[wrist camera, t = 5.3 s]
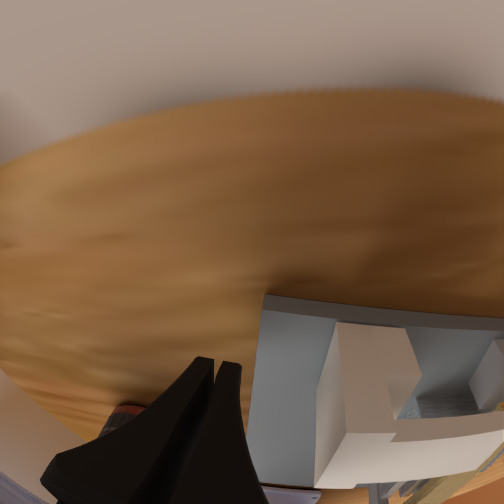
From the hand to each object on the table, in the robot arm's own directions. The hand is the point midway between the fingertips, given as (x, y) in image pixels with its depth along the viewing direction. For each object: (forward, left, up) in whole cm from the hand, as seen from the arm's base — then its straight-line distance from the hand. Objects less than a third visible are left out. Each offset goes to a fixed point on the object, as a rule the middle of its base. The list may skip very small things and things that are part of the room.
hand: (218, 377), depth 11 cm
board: (-6, -12, -3) cm, 14 cm away
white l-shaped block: (0, -7, -2) cm, 7 cm away
